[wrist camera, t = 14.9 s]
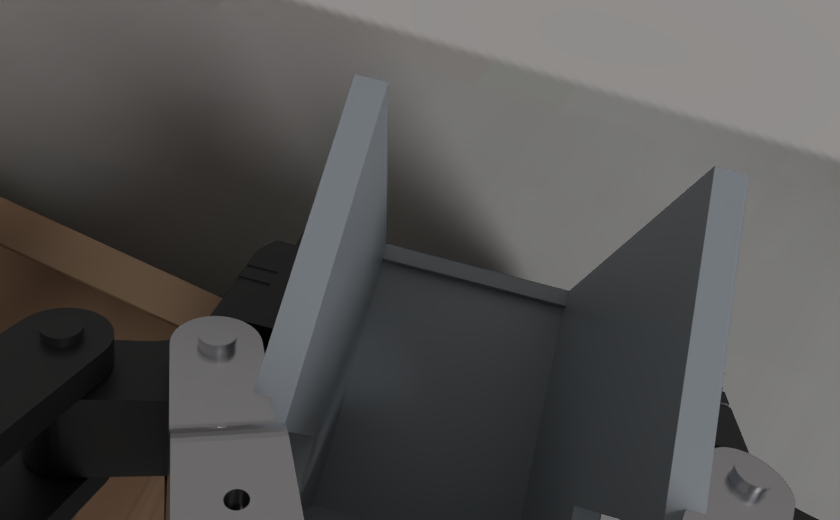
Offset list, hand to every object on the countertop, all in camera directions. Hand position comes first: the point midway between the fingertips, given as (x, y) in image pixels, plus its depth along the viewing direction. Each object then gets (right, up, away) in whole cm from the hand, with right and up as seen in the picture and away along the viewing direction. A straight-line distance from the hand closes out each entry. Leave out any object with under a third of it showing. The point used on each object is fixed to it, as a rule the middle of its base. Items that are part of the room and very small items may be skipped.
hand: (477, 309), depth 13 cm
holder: (-1, -3, +4) cm, 5 cm away
